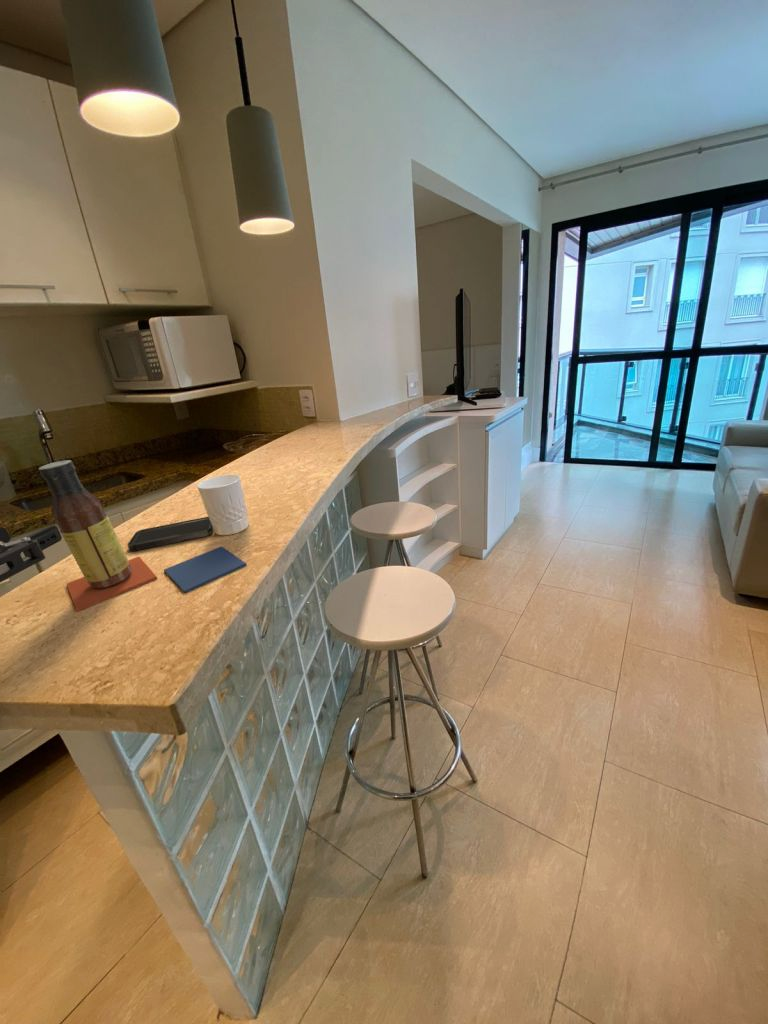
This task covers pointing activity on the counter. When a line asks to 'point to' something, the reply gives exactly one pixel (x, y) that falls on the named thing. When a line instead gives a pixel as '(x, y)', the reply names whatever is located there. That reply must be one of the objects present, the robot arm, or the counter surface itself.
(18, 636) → the counter surface
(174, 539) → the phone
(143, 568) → the terracotta mat
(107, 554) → the sauce bottle
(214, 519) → the white cup
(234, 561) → the slate-blue mat
